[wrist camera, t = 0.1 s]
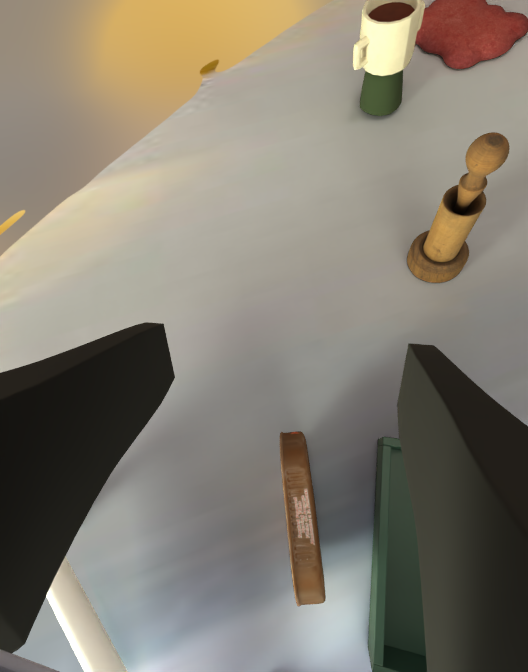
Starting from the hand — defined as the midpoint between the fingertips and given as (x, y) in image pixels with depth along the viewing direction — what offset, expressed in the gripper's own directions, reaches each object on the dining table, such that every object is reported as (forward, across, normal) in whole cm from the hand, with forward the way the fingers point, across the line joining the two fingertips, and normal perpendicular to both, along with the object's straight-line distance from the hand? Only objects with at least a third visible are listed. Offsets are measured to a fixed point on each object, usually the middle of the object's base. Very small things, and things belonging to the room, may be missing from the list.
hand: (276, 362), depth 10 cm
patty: (+71, -16, -20) cm, 75 cm away
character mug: (+60, -4, -10) cm, 61 cm away
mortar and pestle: (+39, -12, +8) cm, 41 cm away
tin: (+16, +1, +29) cm, 33 cm away
